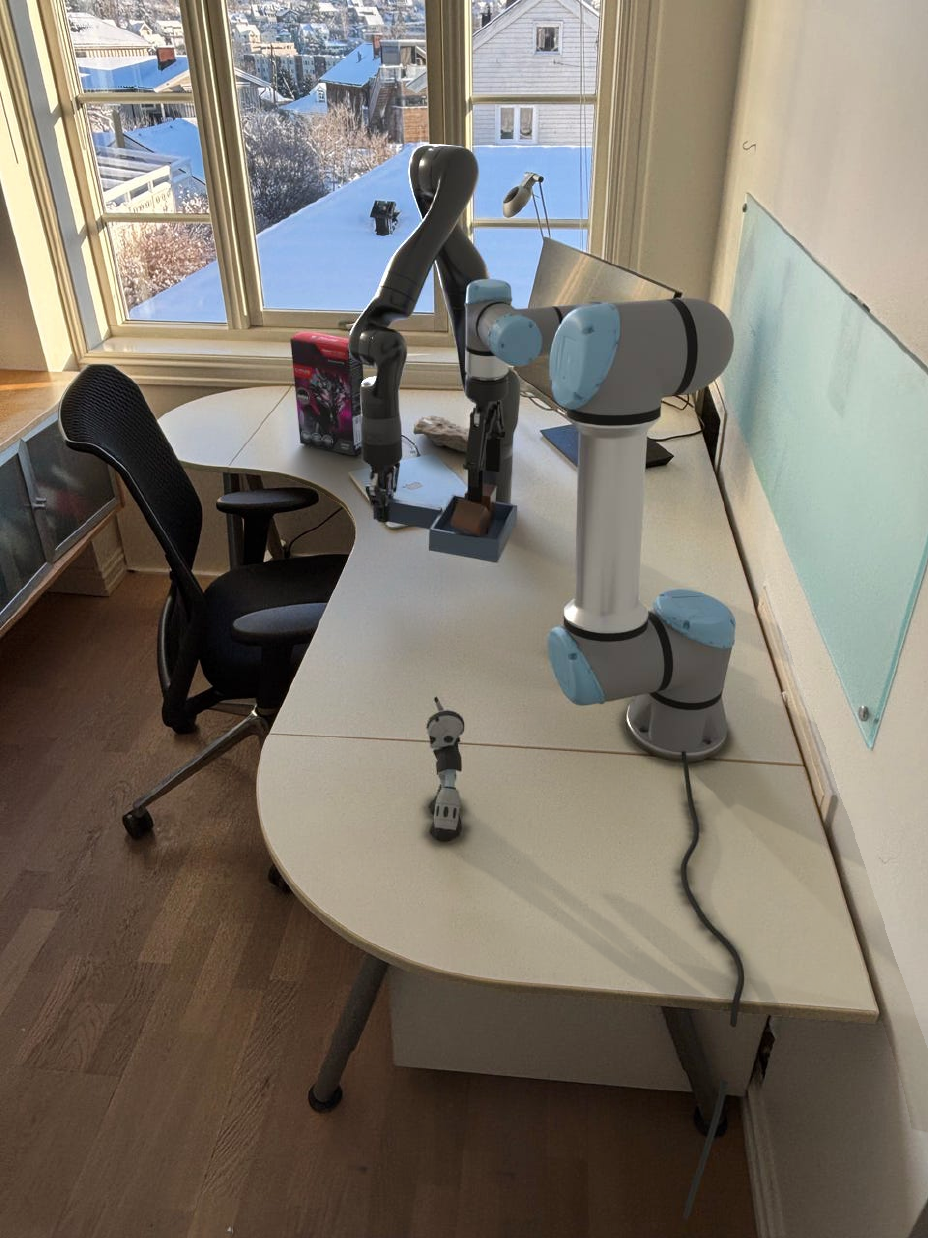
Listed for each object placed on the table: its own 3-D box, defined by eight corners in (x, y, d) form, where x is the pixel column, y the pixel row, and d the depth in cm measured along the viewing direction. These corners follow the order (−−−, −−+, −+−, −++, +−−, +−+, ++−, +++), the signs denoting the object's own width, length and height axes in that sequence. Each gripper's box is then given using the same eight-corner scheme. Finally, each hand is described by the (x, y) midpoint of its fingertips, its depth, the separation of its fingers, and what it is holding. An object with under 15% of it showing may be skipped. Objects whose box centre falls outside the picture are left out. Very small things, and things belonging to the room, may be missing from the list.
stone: (397, 439, 228) (402, 416, 226) (416, 430, 242) (421, 408, 239) (477, 464, 225) (483, 440, 222) (491, 454, 238) (497, 431, 236)
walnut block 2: (487, 534, 176) (490, 496, 171) (462, 530, 177) (464, 492, 172) (493, 522, 180) (496, 485, 175) (468, 518, 181) (471, 481, 176)
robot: (467, 874, 119) (468, 759, 108) (429, 876, 119) (427, 760, 108) (460, 769, 135) (460, 659, 124) (426, 770, 135) (424, 660, 124)
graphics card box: (297, 444, 233) (287, 336, 218) (313, 435, 239) (304, 329, 223) (354, 457, 227) (347, 347, 212) (369, 447, 232) (364, 339, 217)
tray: (497, 563, 169) (499, 539, 166) (360, 537, 174) (360, 514, 171) (515, 525, 181) (517, 502, 178) (387, 502, 186) (387, 480, 183)
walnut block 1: (482, 540, 171) (475, 532, 164) (458, 531, 172) (449, 523, 165) (491, 515, 172) (485, 506, 164) (466, 506, 173) (459, 497, 165)
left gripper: (388, 452, 164) (391, 538, 173) (412, 424, 175) (414, 506, 184) (348, 447, 165) (354, 532, 175) (374, 419, 176) (378, 501, 186)
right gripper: (490, 400, 149) (487, 517, 161) (523, 354, 169) (518, 461, 181) (446, 396, 151) (446, 512, 163) (483, 350, 171) (481, 456, 183)
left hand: (385, 518), depth 179 cm, fingers closed on tray, 1 cm apart
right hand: (484, 485), depth 172 cm, fingers open, 13 cm apart
